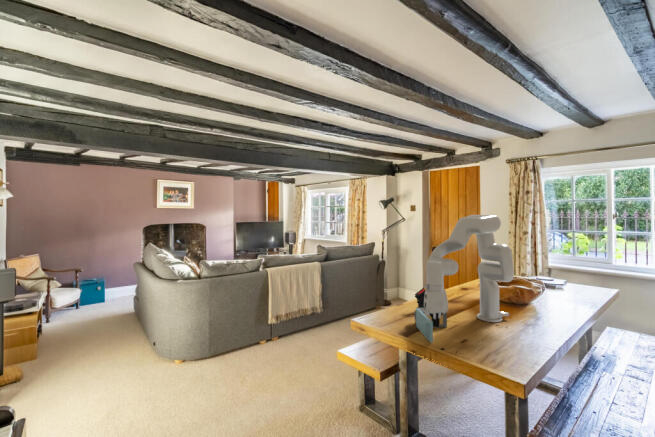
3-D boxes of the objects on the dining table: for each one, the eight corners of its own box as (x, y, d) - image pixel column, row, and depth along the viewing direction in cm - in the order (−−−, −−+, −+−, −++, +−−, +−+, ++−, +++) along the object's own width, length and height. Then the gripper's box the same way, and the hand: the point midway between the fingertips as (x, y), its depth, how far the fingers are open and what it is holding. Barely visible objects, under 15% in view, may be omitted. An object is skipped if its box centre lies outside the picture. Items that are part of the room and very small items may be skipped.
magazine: (440, 306, 185) (431, 285, 182) (424, 318, 181) (415, 297, 178) (435, 304, 189) (427, 284, 186) (420, 316, 184) (411, 296, 181)
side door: (432, 342, 139) (432, 321, 139) (428, 342, 139) (428, 321, 139) (418, 325, 159) (417, 307, 158) (413, 326, 159) (413, 308, 158)
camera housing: (443, 322, 164) (442, 307, 164) (447, 327, 157) (446, 312, 157) (414, 322, 165) (414, 307, 165) (416, 327, 158) (416, 312, 158)
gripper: (424, 290, 135) (425, 331, 136) (454, 288, 138) (455, 327, 139) (416, 286, 143) (417, 325, 144) (445, 284, 146) (445, 321, 146)
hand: (435, 326), depth 141 cm, fingers closed
